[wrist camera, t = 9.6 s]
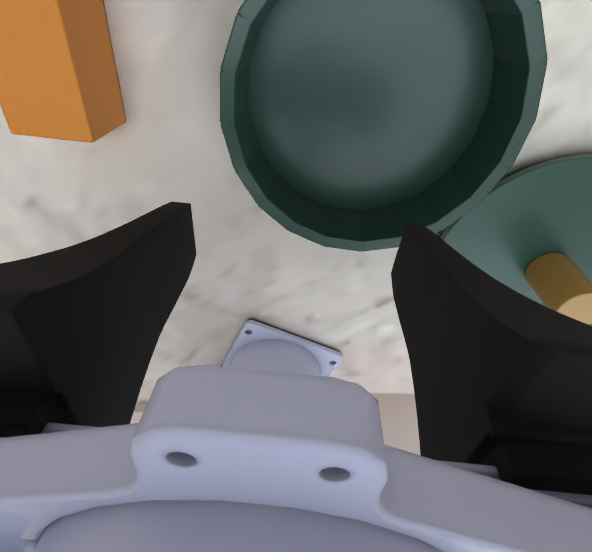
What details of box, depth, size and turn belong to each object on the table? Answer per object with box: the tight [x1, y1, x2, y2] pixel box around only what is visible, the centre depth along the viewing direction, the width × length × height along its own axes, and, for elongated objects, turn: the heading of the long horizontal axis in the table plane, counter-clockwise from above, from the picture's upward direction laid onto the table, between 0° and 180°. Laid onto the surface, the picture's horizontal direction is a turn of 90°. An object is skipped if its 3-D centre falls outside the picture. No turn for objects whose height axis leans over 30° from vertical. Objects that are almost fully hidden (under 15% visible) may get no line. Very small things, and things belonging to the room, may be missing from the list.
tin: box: [220, 0, 547, 251], centre depth 16 cm, size 12×12×4 cm
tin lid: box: [440, 154, 592, 326], centre depth 20 cm, size 13×13×5 cm
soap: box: [0, 0, 126, 143], centre depth 15 cm, size 6×4×3 cm, turn 175°
